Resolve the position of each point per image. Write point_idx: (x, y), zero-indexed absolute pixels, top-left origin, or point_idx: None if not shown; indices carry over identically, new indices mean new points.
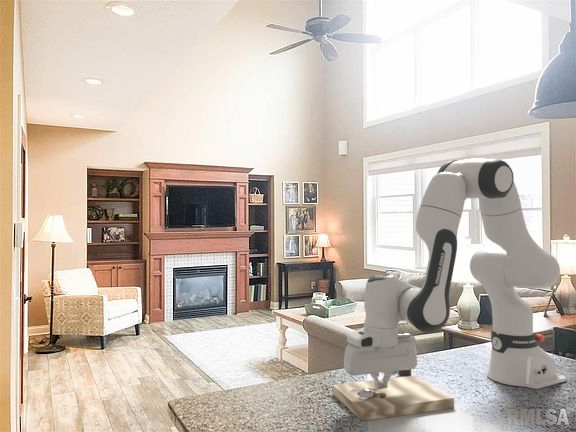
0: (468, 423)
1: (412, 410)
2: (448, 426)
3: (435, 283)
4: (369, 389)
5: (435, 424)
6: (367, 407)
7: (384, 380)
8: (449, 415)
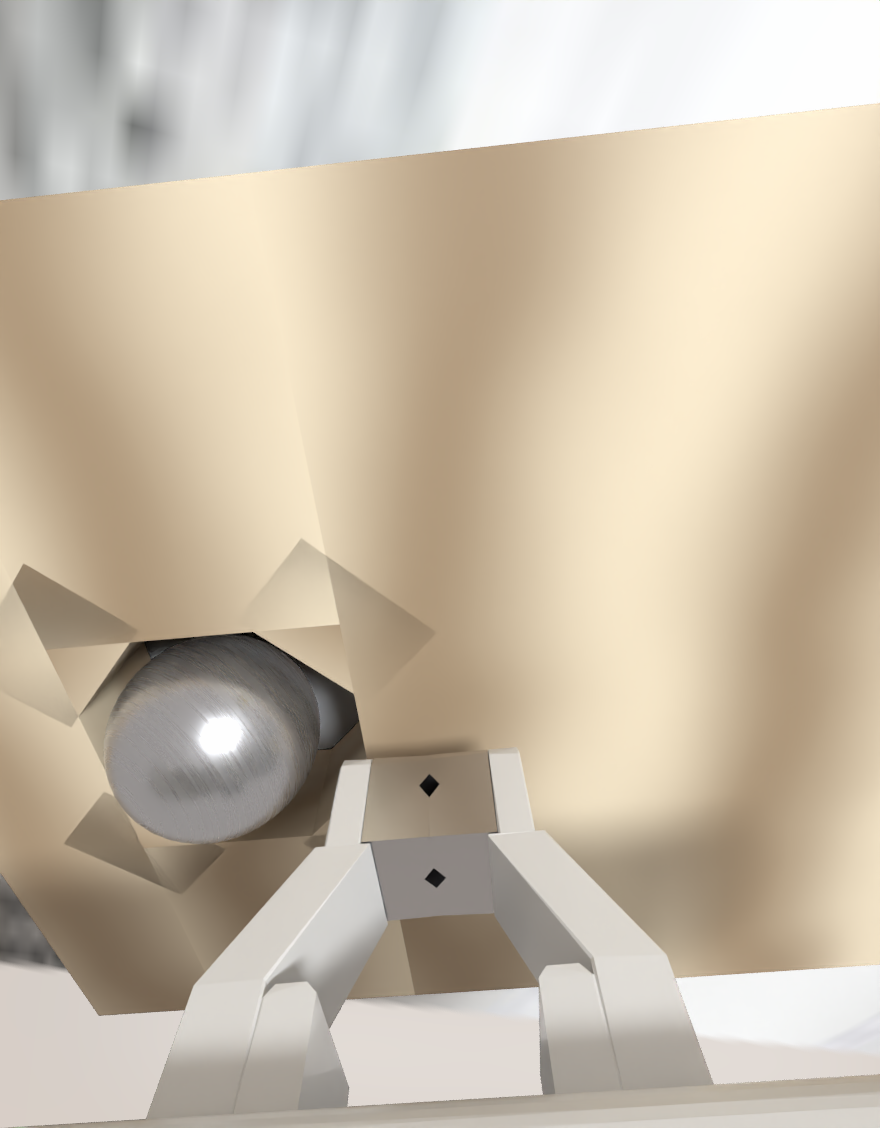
0: (838, 1018)
1: None
2: None
3: None
4: (233, 814)
5: None
6: (154, 985)
7: (501, 896)
8: None
